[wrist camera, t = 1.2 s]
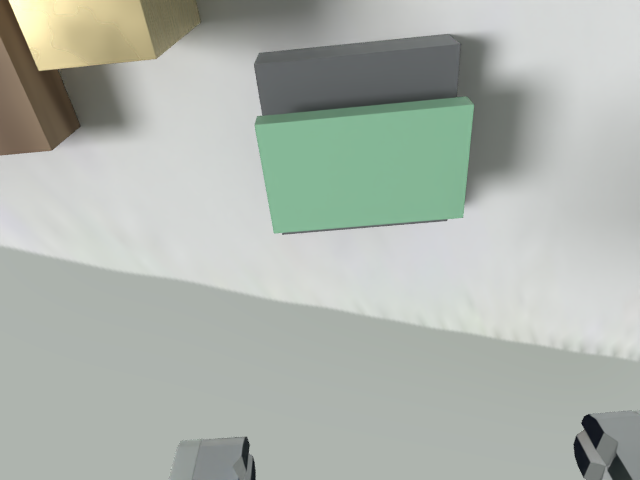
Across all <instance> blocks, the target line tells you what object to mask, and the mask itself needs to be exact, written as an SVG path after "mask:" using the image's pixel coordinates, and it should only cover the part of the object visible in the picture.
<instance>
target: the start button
mask: <svg viewBox="0 0 640 480" xmlns="http://www.w3.org/2000/svg"><path fill="white" fill-rule="evenodd" d="M473 111H474V104H473V103H472V102H471V100H470V99H469V98H468V97H467V96H466V97H456V98H445V99H435V100H424V101H413V102H403V103H392V104H382V105H371V106H361V107H350V108H340V109H329V110H319V111H308V112H298V113H287V114H277V115H266V116H257V119H256V122H255V130H256V136H257V142H258V147H259V153H260V158H261V164H262V169H263V175H264V180H265V186H266V192H267V197H268V203H269V208H270V214H271V219H272V225H273V231H274V233H286V232H298V231H310V230H322V229H334V228H346V227H358V226H370V225H382V224H394V223H406V222H418V221H430V220H442V219H454V218H463V213H464V203H465V193H466V183H467V172H468V162H469V152H470V142H471V131H472V121H473Z"/></svg>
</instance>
